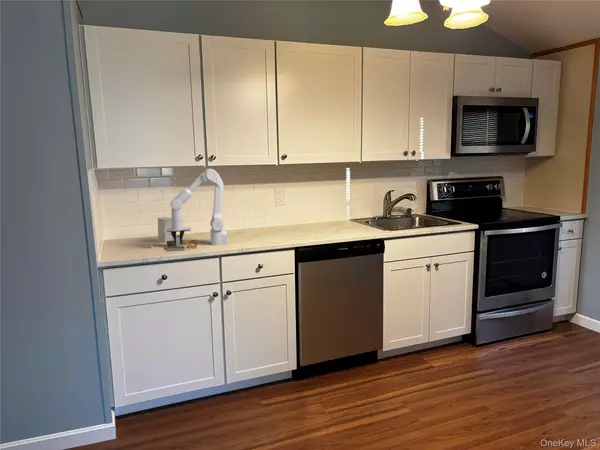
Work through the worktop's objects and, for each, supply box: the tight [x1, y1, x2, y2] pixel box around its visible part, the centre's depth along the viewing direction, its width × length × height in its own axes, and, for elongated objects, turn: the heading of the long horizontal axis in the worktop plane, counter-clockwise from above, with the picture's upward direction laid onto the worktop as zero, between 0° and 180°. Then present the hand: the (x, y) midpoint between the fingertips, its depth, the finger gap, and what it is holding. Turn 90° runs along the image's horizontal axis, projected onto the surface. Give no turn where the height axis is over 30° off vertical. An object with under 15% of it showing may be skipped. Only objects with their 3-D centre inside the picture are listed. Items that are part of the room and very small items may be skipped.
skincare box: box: [157, 216, 174, 243], centre depth 271 cm, size 8×6×15 cm
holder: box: [166, 245, 186, 253], centre depth 246 cm, size 9×4×3 cm, turn 101°
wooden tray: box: [164, 239, 198, 251], centre depth 255 cm, size 17×12×4 cm
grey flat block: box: [175, 234, 182, 247], centre depth 254 cm, size 2×8×7 cm, turn 11°
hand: (178, 244), depth 254 cm, fingers closed on grey flat block, 2 cm apart
